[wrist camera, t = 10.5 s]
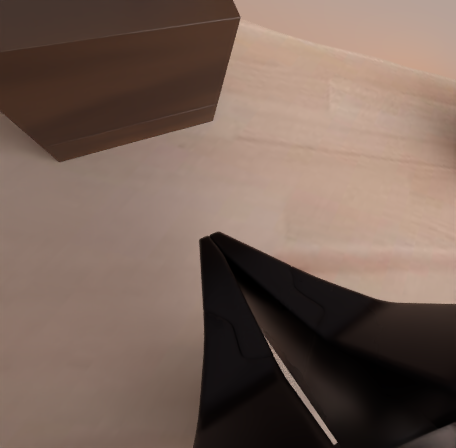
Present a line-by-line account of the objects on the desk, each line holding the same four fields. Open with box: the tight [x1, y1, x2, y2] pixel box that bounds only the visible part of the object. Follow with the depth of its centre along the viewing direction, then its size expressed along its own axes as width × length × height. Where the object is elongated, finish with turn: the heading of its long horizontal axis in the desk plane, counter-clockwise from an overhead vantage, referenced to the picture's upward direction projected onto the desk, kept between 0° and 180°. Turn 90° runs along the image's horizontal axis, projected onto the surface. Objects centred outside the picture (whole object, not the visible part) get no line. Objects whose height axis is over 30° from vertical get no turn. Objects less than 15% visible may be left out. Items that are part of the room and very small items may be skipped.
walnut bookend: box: [0, 0, 240, 162], centre depth 16 cm, size 12×14×10 cm
